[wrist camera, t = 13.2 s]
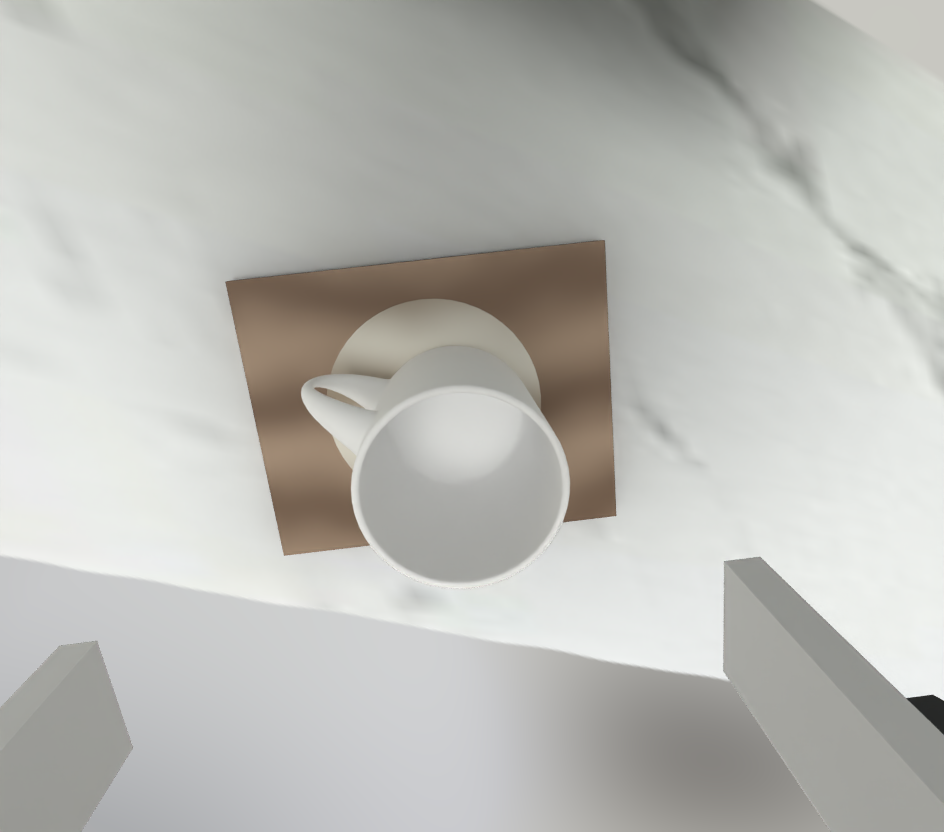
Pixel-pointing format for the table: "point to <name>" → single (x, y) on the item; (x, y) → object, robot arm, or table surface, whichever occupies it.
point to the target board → (411, 333)
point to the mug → (448, 466)
